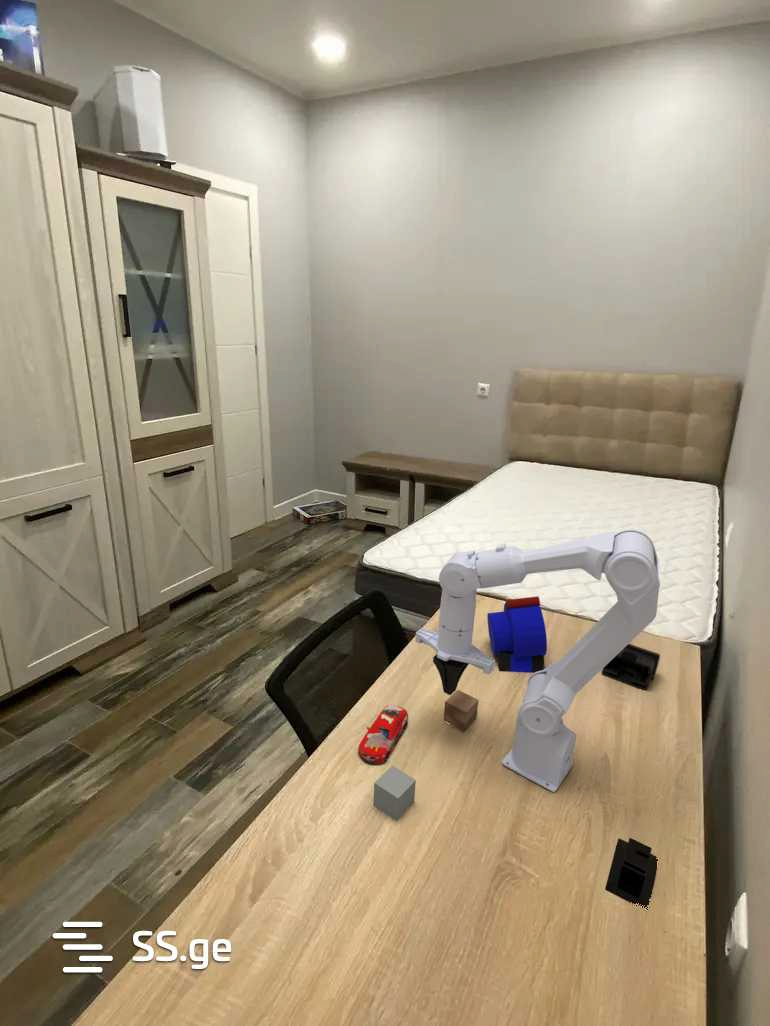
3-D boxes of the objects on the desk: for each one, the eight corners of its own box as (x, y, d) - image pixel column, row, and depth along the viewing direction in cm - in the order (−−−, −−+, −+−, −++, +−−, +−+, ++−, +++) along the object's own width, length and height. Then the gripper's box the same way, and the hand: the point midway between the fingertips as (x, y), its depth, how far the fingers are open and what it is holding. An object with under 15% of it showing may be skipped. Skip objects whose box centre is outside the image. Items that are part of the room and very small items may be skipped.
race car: (381, 771, 93) (382, 752, 92) (352, 760, 95) (353, 741, 94) (412, 722, 104) (413, 704, 103) (386, 713, 107) (387, 695, 105)
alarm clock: (546, 673, 120) (557, 611, 115) (489, 671, 120) (497, 609, 115) (533, 641, 132) (542, 584, 127) (480, 639, 132) (487, 582, 126)
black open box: (652, 930, 71) (659, 904, 70) (592, 898, 75) (598, 873, 73) (665, 855, 81) (672, 831, 80) (613, 830, 85) (618, 807, 83)
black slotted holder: (655, 676, 121) (662, 649, 119) (648, 692, 115) (654, 664, 113) (607, 659, 126) (613, 632, 124) (598, 674, 121) (604, 647, 119)
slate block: (414, 802, 87) (415, 779, 86) (396, 821, 84) (398, 798, 82) (391, 787, 90) (392, 765, 88) (373, 805, 87) (374, 782, 85)
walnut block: (476, 719, 106) (478, 699, 104) (464, 732, 102) (466, 712, 101) (455, 709, 108) (457, 689, 107) (443, 721, 105) (445, 701, 103)
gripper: (406, 617, 95) (402, 684, 99) (483, 649, 87) (474, 721, 91) (430, 601, 100) (425, 666, 105) (504, 631, 92) (495, 700, 96)
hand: (449, 690), depth 98 cm, fingers closed
